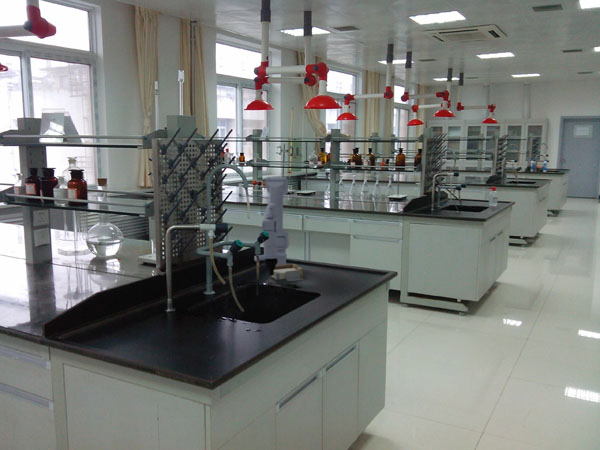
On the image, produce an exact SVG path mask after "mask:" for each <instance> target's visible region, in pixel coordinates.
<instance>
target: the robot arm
mask: <svg viewBox="0 0 600 450" xmlns="http://www.w3.org/2000/svg"><path fill="white" fill-rule="evenodd" d="M288 184H289V182H288V177H287V176H284V177H283V176H281V177H280V176H277V177H276V176H275V177H274V176H267V177H266V179H265V189H266V191H267V192H268V194H269V197H268V198H269V199H268V200H269V201H268V202H269V203H268V204H267V205H266V206H265V213H264V214H265V215H264V219H262V222H261V223H262V224H261V228H262V232H263V231H267V232H268V233H269V239H268V240H266V241H265V242H264V241H263V254H261V255H259V254H258V256H259V261H263V262H264V264H265V266H266V268H267V273H268V276H269V277H272V276H273V273H274V269H275V266H276V265H286V264H287V261H286V260H287V256H288V255H287V253H286V252H287V249H288V248H289V244H290V242H289V241H290V240H289V239H290V236H289V232H288V231H287V230H286V229H284V228H283V227H284V197H285V195H287V194H288V191H289V188H288V187H289V185H288ZM256 256H257V255H254V257H253V258H254V259H253V260H254V261H255V262H259V261H257V257H256Z"/></svg>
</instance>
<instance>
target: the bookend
mask: <svg viewBox="0 0 600 450" xmlns="http://www.w3.org/2000/svg"><path fill="white" fill-rule="evenodd" d="M284 280H286V281H288V282H296V281H303V280H304V278H301V277H300V270H295V271H285V279H284Z"/></svg>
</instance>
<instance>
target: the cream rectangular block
mask: <svg viewBox="0 0 600 450" xmlns="http://www.w3.org/2000/svg"><path fill="white" fill-rule="evenodd" d="M295 270H296V269H294V268H287V269H277V270H274V273H273V276H271V277H272V279H275V281H276V280H277V281H278V280H286V279H285V271H295Z"/></svg>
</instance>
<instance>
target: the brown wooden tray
mask: <svg viewBox="0 0 600 450" xmlns="http://www.w3.org/2000/svg"><path fill="white" fill-rule="evenodd" d="M287 268H294V269H296V270H300V277H301V278H302V279H304V269H303V268H302V267H300V266H299V265H297V264H295V263H286V265H276V266H275V269H274V270H277V269H287Z"/></svg>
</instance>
